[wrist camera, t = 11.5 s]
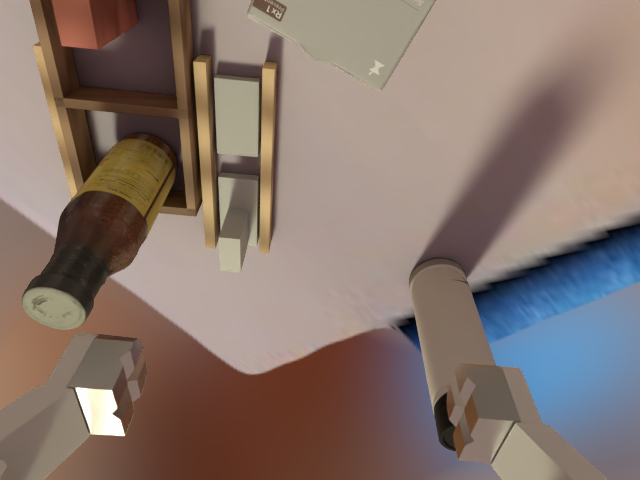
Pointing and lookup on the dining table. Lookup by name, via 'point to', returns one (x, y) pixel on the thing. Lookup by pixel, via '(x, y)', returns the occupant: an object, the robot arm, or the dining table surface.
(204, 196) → the oak lane rails
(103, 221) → the sauce bottle
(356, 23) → the skincare box
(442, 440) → the travel mug
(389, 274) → the dining table surface
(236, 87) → the broken grey strip
